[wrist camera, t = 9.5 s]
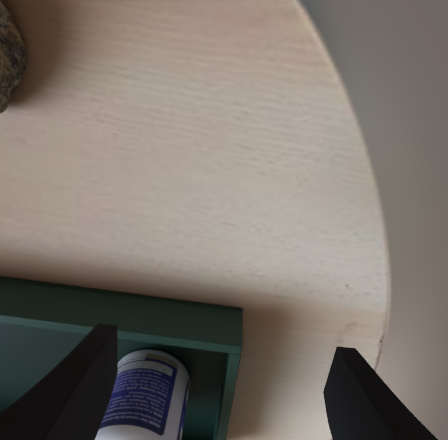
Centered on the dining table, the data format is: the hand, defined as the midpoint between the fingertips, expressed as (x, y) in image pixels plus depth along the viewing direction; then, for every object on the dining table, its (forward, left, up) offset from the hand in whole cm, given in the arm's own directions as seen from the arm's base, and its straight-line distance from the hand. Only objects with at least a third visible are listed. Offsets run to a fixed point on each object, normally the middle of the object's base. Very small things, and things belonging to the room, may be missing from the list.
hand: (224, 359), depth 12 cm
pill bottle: (+3, +12, -10) cm, 16 cm away
